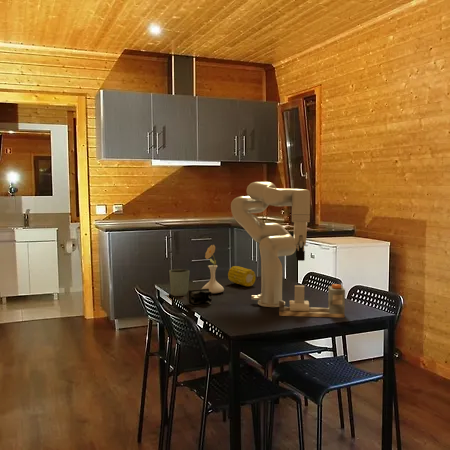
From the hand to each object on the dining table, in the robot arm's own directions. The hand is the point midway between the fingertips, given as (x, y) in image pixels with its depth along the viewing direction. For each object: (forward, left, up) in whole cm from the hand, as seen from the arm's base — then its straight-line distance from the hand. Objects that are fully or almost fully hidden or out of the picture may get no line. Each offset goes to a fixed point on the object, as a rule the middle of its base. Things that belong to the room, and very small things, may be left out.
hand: (300, 258), depth 218 cm
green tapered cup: (-59, +34, -24) cm, 72 cm away
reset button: (+15, 0, -12) cm, 20 cm away
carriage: (0, 0, -22) cm, 22 cm away
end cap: (-45, +13, -24) cm, 53 cm away
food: (-29, +61, -24) cm, 72 cm away
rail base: (+5, 0, -24) cm, 24 cm away
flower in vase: (-42, +38, -24) cm, 62 cm away
